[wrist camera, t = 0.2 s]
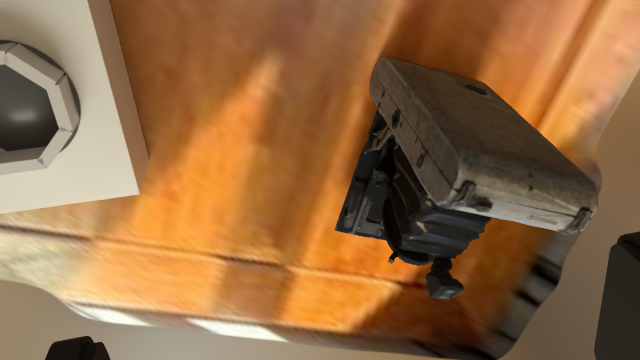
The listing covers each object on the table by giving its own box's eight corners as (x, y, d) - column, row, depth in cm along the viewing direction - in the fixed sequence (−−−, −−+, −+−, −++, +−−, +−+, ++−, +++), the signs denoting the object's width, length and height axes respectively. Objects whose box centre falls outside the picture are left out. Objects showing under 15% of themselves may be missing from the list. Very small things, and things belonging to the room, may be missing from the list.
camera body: (-125, -90, 36) (-211, -83, 29) (81, -109, 37) (47, -107, 30) (-13, 181, 46) (-57, 236, 39) (149, 159, 47) (135, 209, 40)
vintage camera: (319, 205, 52) (368, 376, 35) (376, 46, 45) (470, 163, 28) (413, 222, 55) (500, 388, 38) (480, 74, 48) (623, 197, 31)
